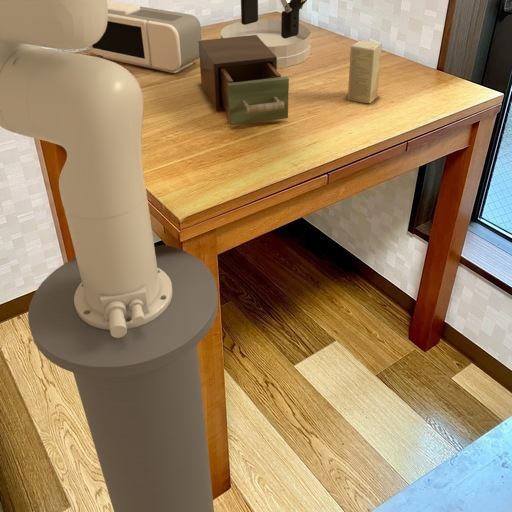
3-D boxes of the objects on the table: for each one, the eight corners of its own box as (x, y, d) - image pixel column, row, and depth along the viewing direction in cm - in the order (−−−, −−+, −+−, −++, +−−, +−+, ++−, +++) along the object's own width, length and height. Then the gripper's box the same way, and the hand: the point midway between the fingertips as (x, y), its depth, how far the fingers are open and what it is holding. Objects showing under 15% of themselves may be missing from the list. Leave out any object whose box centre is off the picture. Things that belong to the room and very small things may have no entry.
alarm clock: (89, 58, 145) (80, 6, 138) (114, 46, 151) (107, -3, 144) (180, 77, 134) (175, 23, 127) (203, 64, 140) (200, 12, 133)
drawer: (295, 127, 111) (296, 86, 106) (235, 135, 108) (234, 94, 104) (267, 92, 124) (267, 54, 120) (214, 98, 122) (212, 60, 117)
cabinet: (276, 103, 122) (276, 56, 116) (216, 111, 119) (213, 63, 113) (256, 78, 133) (256, 34, 127) (201, 85, 130) (198, 40, 124)
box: (377, 97, 124) (384, 43, 117) (369, 104, 121) (375, 49, 114) (354, 92, 126) (359, 39, 119) (345, 99, 123) (350, 45, 116)
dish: (214, 41, 153) (213, 21, 150) (297, 35, 157) (298, 16, 154) (227, 72, 136) (227, 50, 133) (321, 64, 139) (322, 43, 136)
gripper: (212, -95, 90) (218, 22, 100) (291, -83, 79) (289, 47, 89) (250, -100, 93) (252, 14, 104) (331, -89, 83) (323, 36, 93)
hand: (269, 29), depth 97 cm, fingers open, 9 cm apart
